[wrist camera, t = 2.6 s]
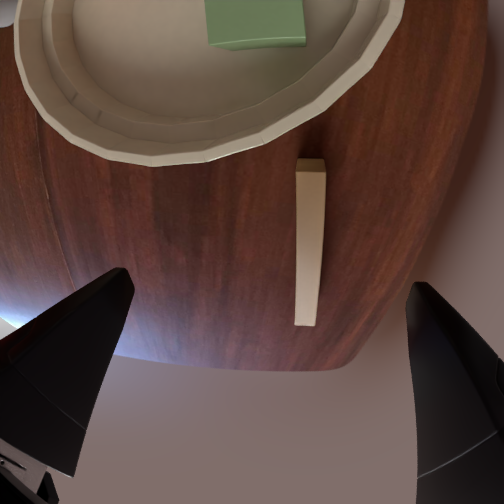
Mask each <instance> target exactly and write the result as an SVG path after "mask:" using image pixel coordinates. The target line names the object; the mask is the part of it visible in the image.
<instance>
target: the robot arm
mask: <svg viewBox="0 0 504 504" xmlns="http://www.w3.org/2000/svg"><path fill="white" fill-rule="evenodd" d="M134 292H135V288H134V284H133V282H132V280H131V277H130V275H129V273H128V271H127V269H125V268H118V267H116V268H113V269H112V270H110V271H108V272H107V273H105V274H103V275H102V276H100V277H98V278H97V279H95V280H93V281H92V282H90V283H89V284H87V285H85V286H84V287H82V288H80V289H79V290H77V291H76V292H74V293H72V294H71V295H69V296H68V297H66V298H65V299H63V300H61V301H60V302H58V303H57V304H55V305H54V306H52V307H51V308H49V309H48V310H46V311H44V312H43V313H41V314H40V315H38V316H37V317H36V318H34V319H32V320H31V321H29V322H28V323H26V324H25V325H23V326H22V327H20V328H19V329H17V330H16V331H14V332H12V333H11V334H9V335H8V336H6V337H4V338H3V339H1V340H0V504H58V502H59V498H58V495H57V493H56V489H55V487H54V483H53V480H52V477H51V474H50V473H49V472H47V471H46V469H47V467H50V468H52V469H54V470H56V471H58V472H60V473H62V474H65V475H67V476H69V477H71V478H73V477H74V474H75V471H76V467H77V462H78V459H79V455H80V451H81V448H82V444H83V441H84V437H85V434H86V430H87V427H88V423H89V421H90V417H91V414H92V411H93V408H94V405H95V402H96V399H97V396H98V393H99V391H100V388H101V385H102V382H103V379H104V376H105V374H106V371H107V368H108V365H109V363H110V360H111V358H112V355H113V353H114V350H115V348H116V345H117V343H118V340H119V338H120V335H121V333H122V330H123V327H124V324H125V321H126V317H127V314H128V311H129V308H130V305H131V302H132V299H133V296H134ZM406 318H407V332H408V347H409V359H410V366H411V373H412V382H413V390H414V400H415V412H416V427H417V456H418V472H417V477H418V479H417V495H416V504H504V362H503V361H502V360H501V359H500V358H498V355H497V354H496V353H495V352H494V350H493V349H492V348H491V347H490V346H489V345H488V344H487V343H486V341H485V340H484V339H483V338H482V337H481V336H480V335H479V334H478V333H477V332H476V331H475V329H474V328H473V327H471V325H470V324H469V323H468V322H467V321H466V320H465V319H464V318H463V317H462V316H461V315H460V314H459V313H458V312H457V311H456V310H455V309H454V308H453V307H452V306H451V305H450V304H449V303H448V302H447V301H446V300H445V299H444V298H443V297H442V296H441V295H440V294H439V293H438V292H437V291H436V290H435V289H434V288H433V287H432V286H431V285H429V284H428V283H427V282H414V283H413V285H412V288H411V291H410V293H409V296H408V299H407V302H406Z"/></svg>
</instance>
